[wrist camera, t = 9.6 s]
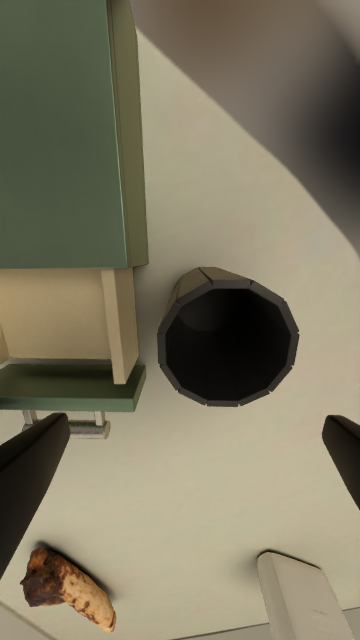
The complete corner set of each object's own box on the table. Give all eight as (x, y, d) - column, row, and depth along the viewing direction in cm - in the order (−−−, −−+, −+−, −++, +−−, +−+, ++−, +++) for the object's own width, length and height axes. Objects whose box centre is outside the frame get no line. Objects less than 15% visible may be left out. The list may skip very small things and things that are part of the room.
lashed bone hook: (12, 549, 30) (88, 610, 34) (-21, 600, 26) (72, 663, 29) (55, 533, 28) (132, 599, 32) (28, 585, 24) (121, 655, 27)
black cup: (236, 332, 18) (286, 407, 9) (172, 332, 18) (160, 405, 9) (242, 266, 17) (310, 279, 7) (171, 267, 17) (154, 279, 8)
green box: (148, 264, 17) (128, 268, 11) (-18, 264, 17) (-126, 269, 11) (137, 36, 13) (93, -159, 7) (-82, 45, 13) (-305, -132, 7)
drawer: (148, 411, 20) (138, 455, 16) (22, 409, 21) (-22, 451, 16) (137, 228, 15) (117, 217, 11) (-31, 230, 16) (-116, 219, 11)
